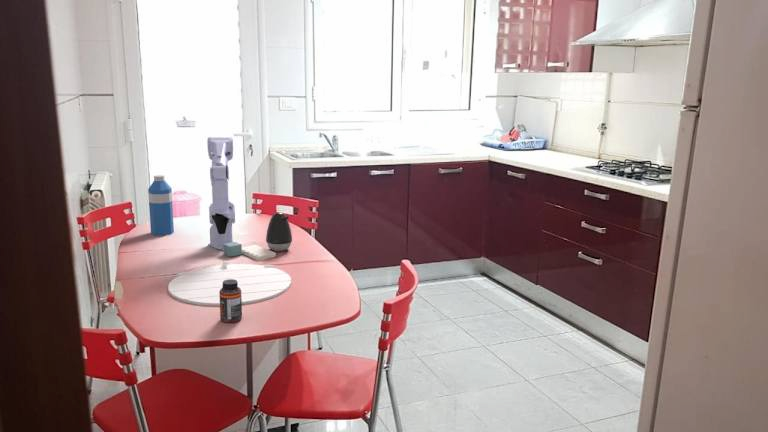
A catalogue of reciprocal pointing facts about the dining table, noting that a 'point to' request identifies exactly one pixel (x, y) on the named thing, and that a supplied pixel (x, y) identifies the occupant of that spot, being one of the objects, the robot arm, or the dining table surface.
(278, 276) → the lazy susan
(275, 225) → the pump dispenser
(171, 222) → the water bottle
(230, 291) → the supplement bottle
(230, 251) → the pale blue cube
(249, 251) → the white slotted box
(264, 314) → the dining table surface
